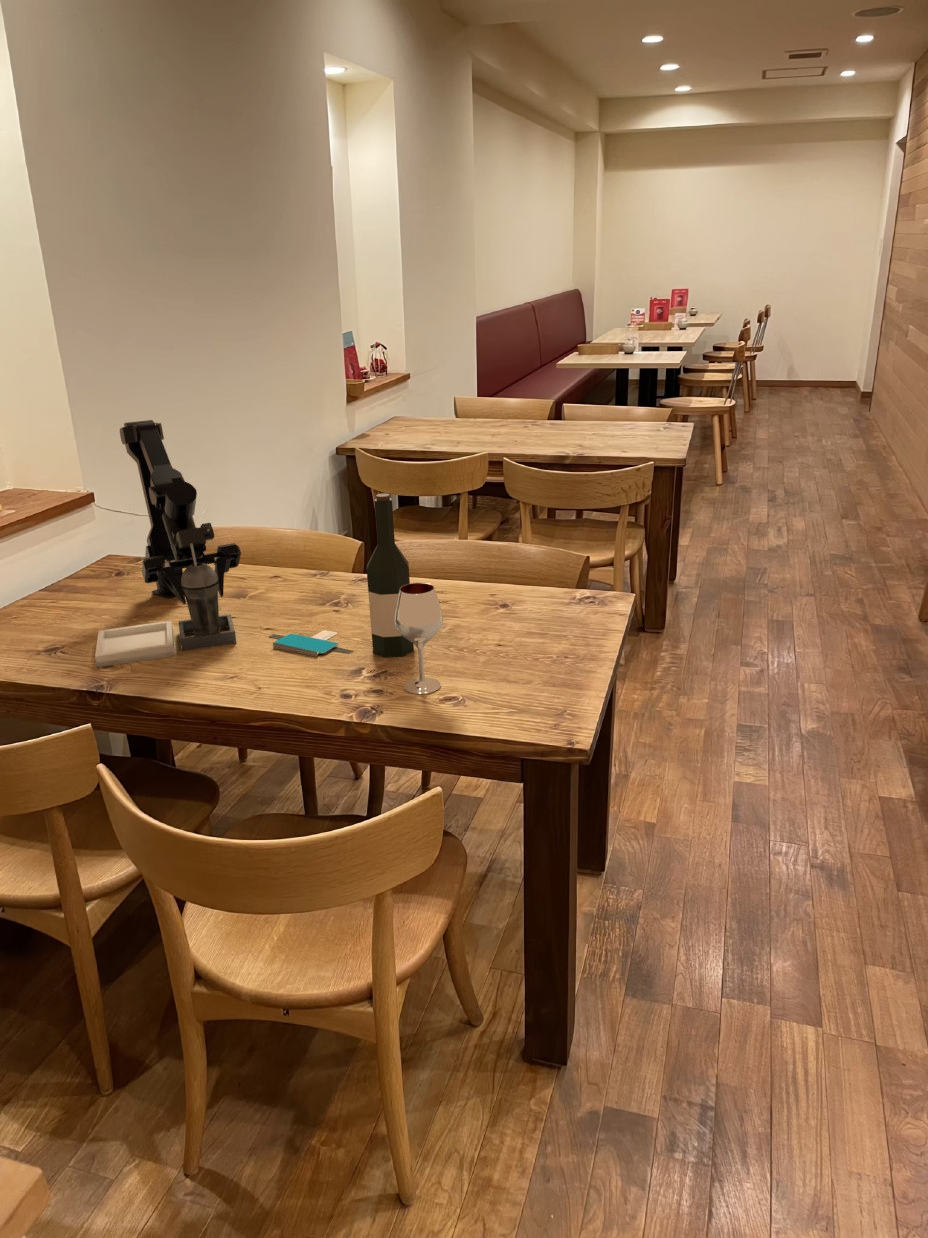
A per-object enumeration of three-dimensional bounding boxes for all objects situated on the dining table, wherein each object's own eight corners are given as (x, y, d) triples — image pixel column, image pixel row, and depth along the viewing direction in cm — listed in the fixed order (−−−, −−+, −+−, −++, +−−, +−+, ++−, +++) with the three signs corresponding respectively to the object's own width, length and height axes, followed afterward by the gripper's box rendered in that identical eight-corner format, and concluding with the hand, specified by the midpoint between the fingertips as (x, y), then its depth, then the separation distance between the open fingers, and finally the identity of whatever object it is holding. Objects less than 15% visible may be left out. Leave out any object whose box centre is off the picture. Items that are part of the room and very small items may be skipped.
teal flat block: (372, 643, 176) (371, 635, 176) (334, 665, 167) (334, 657, 166) (293, 627, 186) (292, 619, 185) (253, 647, 176) (252, 639, 175)
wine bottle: (381, 661, 166) (369, 502, 155) (365, 646, 173) (352, 493, 162) (422, 652, 170) (413, 496, 159) (404, 637, 177) (395, 487, 166)
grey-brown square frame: (181, 651, 174) (180, 639, 173) (180, 632, 183) (178, 621, 182) (236, 643, 177) (234, 631, 176) (232, 625, 186) (230, 613, 185)
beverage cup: (231, 631, 183) (218, 536, 176) (219, 644, 176) (204, 547, 169) (197, 630, 184) (182, 536, 177) (183, 644, 177) (167, 547, 170)
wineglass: (398, 678, 159) (392, 581, 153) (444, 675, 160) (439, 579, 153) (399, 698, 151) (392, 598, 145) (447, 695, 152) (442, 595, 145)
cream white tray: (97, 667, 168) (94, 656, 167) (100, 640, 181) (98, 630, 180) (174, 655, 172) (172, 645, 171) (173, 630, 185) (171, 620, 184)
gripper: (135, 518, 170) (156, 589, 165) (232, 503, 178) (255, 570, 173) (134, 548, 179) (154, 616, 174) (226, 533, 188) (248, 597, 183)
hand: (203, 599), depth 176 cm, fingers closed on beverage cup, 7 cm apart
